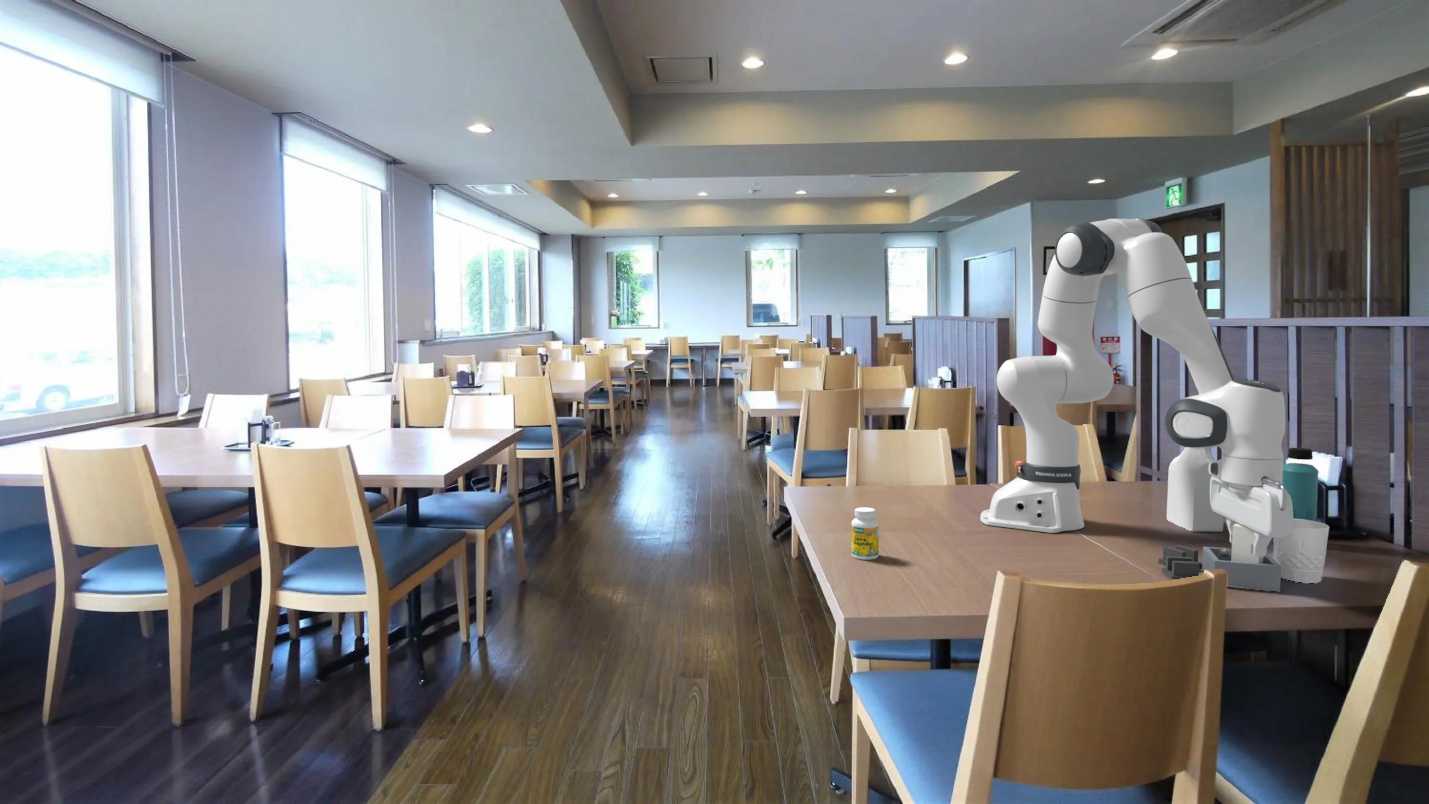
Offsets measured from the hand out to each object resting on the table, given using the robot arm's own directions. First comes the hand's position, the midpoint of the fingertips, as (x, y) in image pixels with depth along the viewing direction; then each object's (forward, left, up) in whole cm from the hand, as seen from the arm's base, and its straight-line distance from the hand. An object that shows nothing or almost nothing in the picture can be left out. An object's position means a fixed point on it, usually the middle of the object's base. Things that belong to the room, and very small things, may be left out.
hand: (1247, 549), depth 135 cm
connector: (0, 0, -3) cm, 3 cm away
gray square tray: (-1, 0, -6) cm, 6 cm away
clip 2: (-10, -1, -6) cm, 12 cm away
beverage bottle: (+16, +33, -6) cm, 37 cm away
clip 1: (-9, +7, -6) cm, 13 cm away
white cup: (+9, +6, -6) cm, 12 cm away
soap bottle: (0, +42, -6) cm, 42 cm away
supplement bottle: (-66, -8, -6) cm, 67 cm away
